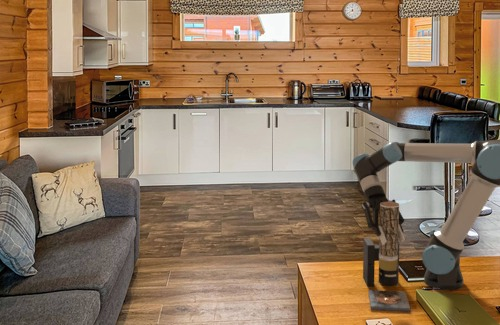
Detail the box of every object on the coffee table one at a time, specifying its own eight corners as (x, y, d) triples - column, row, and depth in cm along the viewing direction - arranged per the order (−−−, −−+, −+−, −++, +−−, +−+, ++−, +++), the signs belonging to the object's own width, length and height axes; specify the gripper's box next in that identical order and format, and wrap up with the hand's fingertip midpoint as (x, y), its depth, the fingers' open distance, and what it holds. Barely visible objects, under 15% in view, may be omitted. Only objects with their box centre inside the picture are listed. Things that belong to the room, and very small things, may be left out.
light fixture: (401, 286, 200) (402, 245, 197) (367, 287, 201) (367, 245, 198) (395, 277, 210) (396, 237, 207) (362, 277, 211) (363, 237, 208)
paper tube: (398, 272, 181) (400, 206, 177) (379, 271, 182) (380, 206, 178) (396, 265, 187) (398, 201, 183) (378, 264, 189) (379, 201, 184)
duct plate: (405, 295, 192) (405, 291, 192) (409, 312, 179) (410, 307, 179) (368, 293, 195) (368, 289, 195) (370, 309, 181) (370, 305, 181)
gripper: (391, 192, 198) (413, 243, 185) (346, 196, 193) (365, 249, 180) (399, 182, 192) (422, 234, 179) (352, 186, 187) (373, 240, 174)
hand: (393, 242), depth 179 cm, fingers closed on paper tube, 7 cm apart
